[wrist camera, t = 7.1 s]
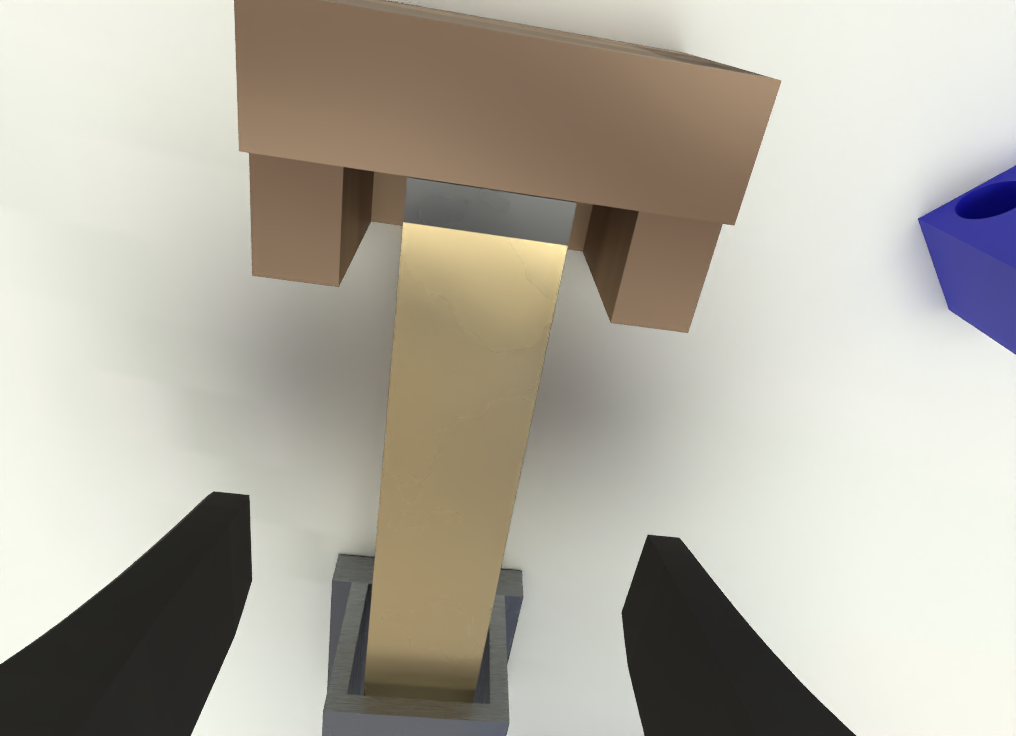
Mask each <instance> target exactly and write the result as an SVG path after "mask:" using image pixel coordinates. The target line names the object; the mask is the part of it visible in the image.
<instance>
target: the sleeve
mask: <svg viewBox="0 0 1016 736" xmlns="http://www.w3.org/2000/svg"><path fill="white" fill-rule="evenodd" d="M374 562H375V558H371V557H360V556H349V555H339V556H338V560H337V564H336V568H335V572H334V576H333V579H332V597H331V619H330V642H329V664H328V686H327V696H326V700H325V705H324V709H323V727H322V736H506V735H507V731H508V727H509V700H508V673H507V664H508V659H509V655H510V651H511V647H512V642H513V638H514V634H515V630H516V626H517V621H518V617H519V613H520V609H521V604H522V600H523V586H522V571H515V570H504V569H501V570H500V575H499V580H498V584H497V589H496V594H495V599H494V604H493V608H492V613H491V618H490V623H489V628H488V633H487V637H486V642H485V647H484V652H483V657H482V661H481V666H480V671H479V676H478V681H477V685H476V690H475V695H474V700H473V703H462V702H448V701H433V700H419V699H404V698H390V697H376V696H363V691H364V680H365V668H366V656H367V644H368V632H369V621H370V609H371V597H372V585H373V573H374Z"/></svg>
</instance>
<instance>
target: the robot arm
mask: <svg viewBox="0 0 1016 736" xmlns="http://www.w3.org/2000/svg"><path fill="white" fill-rule="evenodd" d="M251 582H252V562H251V531H250V500H249V495H243V494H233V493H223V492H212V493H211V494H209V495H208V496H207V497H206V498H205V499H203V500H202V501H201V502H200V503H199V504H198V505H197V506H196V507H195V508H194V509H193V510H192V511H191V512H190V513H189V514H188V515H186V516H185V517H184V518H183V519H182V520H181V521H180V522H179V523H178V524H177V525H176V526H175V527H174V528H172V529H171V530H170V531H169V532H168V533H167V534H166V535H165V536H164V537H163V538H161V539H160V540H159V541H158V542H157V543H156V544H155V545H154V546H153V547H151V548H150V549H149V550H148V551H147V552H146V553H145V554H143V555H142V556H141V557H140V558H139V559H138V560H136V561H135V562H134V563H133V564H132V565H131V566H130V567H128V568H127V569H126V570H125V571H124V572H123V573H121V574H120V575H119V576H118V577H117V578H115V579H114V580H113V581H112V582H111V583H109V584H108V585H107V586H106V587H104V588H103V589H102V590H101V591H99V592H98V593H97V594H96V595H94V596H93V597H92V598H91V599H89V600H88V601H87V602H85V603H84V604H83V605H82V606H80V607H79V608H78V609H77V610H75V611H74V612H73V613H72V614H70V615H69V616H68V617H66V618H65V619H64V620H62V621H61V622H60V623H58V624H57V625H56V626H54V627H53V628H52V629H50V630H49V631H48V632H46V633H45V634H43V635H42V636H41V637H39V638H38V639H36V640H35V641H34V642H32V643H31V644H29V645H28V646H26V647H25V648H24V649H22V650H21V651H19V652H18V653H16V654H15V655H13V656H12V657H10V658H9V659H8V660H6V661H5V662H3V663H2V664H0V736H191V734H192V731H193V729H194V727H195V725H196V722H197V720H198V718H199V716H200V714H201V711H202V709H203V707H204V705H205V702H206V700H207V698H208V696H209V693H210V691H211V689H212V687H213V684H214V682H215V680H216V678H217V675H218V673H219V671H220V668H221V666H222V664H223V662H224V659H225V657H226V655H227V653H228V650H229V648H230V646H231V643H232V641H233V639H234V636H235V634H236V630H237V627H238V624H239V621H240V618H241V615H242V612H243V609H244V605H245V602H246V599H247V595H248V592H249V589H250V585H251ZM622 620H623V630H624V639H625V647H626V655H627V662H628V668H629V673H630V677H631V681H632V686H633V690H634V694H635V698H636V702H637V706H638V710H639V715H640V719H641V723H642V727H643V731H644V735H645V736H856V735H855V734H854V733H853V732H852V731H850V730H849V729H848V728H847V727H846V726H845V725H844V724H843V723H842V722H841V721H840V720H839V719H838V718H837V717H836V716H835V715H834V714H833V713H832V712H831V711H829V710H828V709H827V708H826V707H825V706H824V705H823V704H822V703H821V702H820V701H819V700H818V699H817V698H816V697H815V696H814V695H813V694H812V693H811V692H810V691H809V690H808V689H807V688H806V687H805V686H804V685H803V684H802V683H801V682H800V681H799V680H798V679H797V678H796V676H795V675H794V674H793V673H792V672H791V671H790V670H789V669H788V668H787V667H786V666H785V665H784V663H783V662H782V661H781V660H780V659H779V658H778V657H777V656H776V655H775V654H774V653H773V652H772V650H771V649H770V648H769V647H768V646H767V645H766V644H765V642H764V641H763V640H762V639H761V638H760V637H759V636H758V634H757V633H756V632H755V631H754V630H753V629H752V627H751V626H750V625H749V624H748V623H747V622H746V620H745V619H744V618H743V617H742V616H741V614H740V613H739V612H738V611H737V610H736V608H735V607H734V606H733V605H732V603H731V602H730V601H729V600H728V598H727V597H726V596H725V595H724V593H723V592H722V591H721V590H720V588H719V587H718V586H717V585H716V583H715V582H714V581H713V580H712V578H711V577H710V576H709V575H708V573H707V572H706V571H705V569H704V568H703V567H702V566H701V564H700V563H699V562H698V561H697V559H696V558H695V557H694V555H693V554H692V553H691V552H690V550H689V549H688V548H687V547H686V545H685V544H684V543H683V542H682V540H681V539H680V538H676V537H666V536H656V535H647V538H646V541H645V544H644V547H643V550H642V553H641V556H640V559H639V562H638V565H637V568H636V571H635V574H634V577H633V580H632V583H631V586H630V589H629V592H628V595H627V598H626V601H625V604H624V607H623V609H622Z"/></svg>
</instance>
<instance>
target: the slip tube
mask: <svg viewBox="0 0 1016 736" xmlns="http://www.w3.org/2000/svg"><path fill="white" fill-rule="evenodd" d="M576 204H577V202H575V201H568V200H561V199H555V198H548V197H541V196H535V195H528V194H521V193H515V192H508V191H501V190H495V189H488V188H481V187H475V186H468V185H461V184H455V183H448V182H441V181H435V180H428V179H421V178H415V177H408V176H407V183H406V195H405V207H404V219H403V231H402V243H401V254H400V266H399V278H398V290H397V302H396V313H395V325H394V337H393V349H392V361H391V372H390V384H389V396H388V408H387V420H386V432H385V443H384V455H383V467H382V479H381V491H380V502H379V514H378V526H377V538H376V550H375V562H374V573H373V585H372V597H371V609H370V621H369V632H368V644H367V656H366V668H365V680H364V691H363V696H376V697H390V698H404V699H419V700H433V701H448V702H462V703H473V700H474V695H475V690H476V685H477V681H478V676H479V671H480V666H481V661H482V657H483V652H484V647H485V642H486V637H487V633H488V628H489V623H490V618H491V613H492V608H493V604H494V599H495V594H496V589H497V584H498V580H499V575H500V570H501V565H502V560H503V556H504V551H505V546H506V541H507V536H508V531H509V527H510V522H511V517H512V512H513V507H514V503H515V498H516V493H517V488H518V483H519V479H520V474H521V469H522V464H523V459H524V454H525V450H526V445H527V440H528V435H529V430H530V426H531V421H532V416H533V411H534V406H535V402H536V397H537V392H538V387H539V382H540V377H541V373H542V368H543V363H544V358H545V353H546V349H547V344H548V339H549V334H550V329H551V325H552V320H553V315H554V310H555V305H556V301H557V296H558V291H559V286H560V281H561V276H562V272H563V267H564V262H565V257H566V252H567V248H568V243H569V238H570V233H571V228H572V224H573V219H574V214H575V209H576Z"/></svg>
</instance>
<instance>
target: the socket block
mask: <svg viewBox="0 0 1016 736" xmlns="http://www.w3.org/2000/svg"><path fill="white" fill-rule="evenodd" d="M234 11H235V42H236V72H237V102H238V133H239V151H241V152H248V153H249V165H250V204H251V242H252V276H259V277H266V278H274V279H282V280H289V281H297V282H305V283H312V284H320V285H327V286H335V287H339V285H340V283H341V281H342V279H343V277H344V275H345V273H346V271H347V269H348V267H349V265H350V263H351V261H352V259H353V257H354V255H355V253H356V251H357V249H358V247H359V245H360V243H361V241H362V239H363V237H364V235H365V233H366V231H367V228H368V226H369V224H370V222H371V221H373V222H380V223H387V224H394V225H401V226H403V219H404V207H405V195H406V183H407V176H408V177H415V178H421V179H428V180H435V181H441V182H448V183H455V184H461V185H468V186H475V187H481V188H488V189H495V190H501V191H508V192H515V193H521V194H528V195H535V196H541V197H548V198H555V199H561V200H568V201H575V202H577V204H576V209H575V214H574V219H573V224H572V228H571V233H570V238H569V243H568V248H567V249H570V250H577V251H583V253H584V256H585V258H586V261H587V263H588V266H589V268H590V271H591V274H592V276H593V279H594V281H595V284H596V286H597V289H598V291H599V294H600V297H601V299H602V302H603V304H604V307H605V309H606V312H607V314H608V317H609V320H610V322H611V323H617V324H624V325H632V326H640V327H647V328H655V329H662V330H670V331H678V332H685V333H688V331H689V328H690V325H691V322H692V319H693V316H694V312H695V309H696V306H697V303H698V300H699V297H700V293H701V290H702V287H703V284H704V281H705V278H706V275H707V271H708V268H709V265H710V262H711V259H712V256H713V252H714V249H715V246H716V243H717V240H718V237H719V234H720V230H721V227H722V224H728V225H735V222H736V219H737V216H738V213H739V209H740V206H741V203H742V200H743V197H744V194H745V191H746V188H747V185H748V182H749V179H750V176H751V173H752V170H753V166H754V163H755V160H756V157H757V154H758V151H759V148H760V145H761V142H762V139H763V136H764V133H765V130H766V127H767V124H768V120H769V117H770V114H771V111H772V108H773V105H774V102H775V99H776V96H777V93H778V90H779V87H780V84H781V80H777V79H774V78H770V77H767V76H763V75H760V74H756V73H753V72H749V71H746V70H742V69H739V68H735V67H732V66H728V65H725V64H721V63H718V62H714V61H711V60H707V59H704V58H700V57H697V56H693V55H690V54H686V53H681V52H676V51H670V50H664V49H659V48H653V47H647V46H642V45H636V44H630V43H625V42H619V41H613V40H608V39H602V38H596V37H591V36H585V35H579V34H574V33H568V32H562V31H557V30H551V29H545V28H540V27H534V26H528V25H522V24H517V23H511V22H505V21H500V20H494V19H488V18H483V17H477V16H471V15H466V14H460V13H454V12H449V11H443V10H437V9H432V8H426V7H420V6H415V5H409V4H403V3H398V2H392V1H386V0H234Z"/></svg>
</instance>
